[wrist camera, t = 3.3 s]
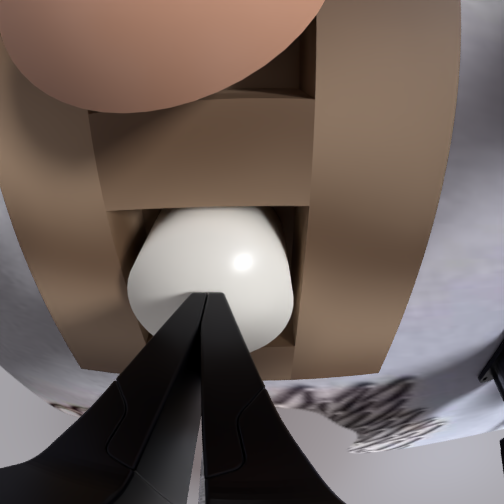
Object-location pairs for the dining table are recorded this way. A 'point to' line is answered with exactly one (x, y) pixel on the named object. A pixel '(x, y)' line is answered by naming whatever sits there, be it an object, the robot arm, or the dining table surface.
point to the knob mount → (251, 183)
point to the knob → (215, 268)
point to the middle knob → (146, 47)
